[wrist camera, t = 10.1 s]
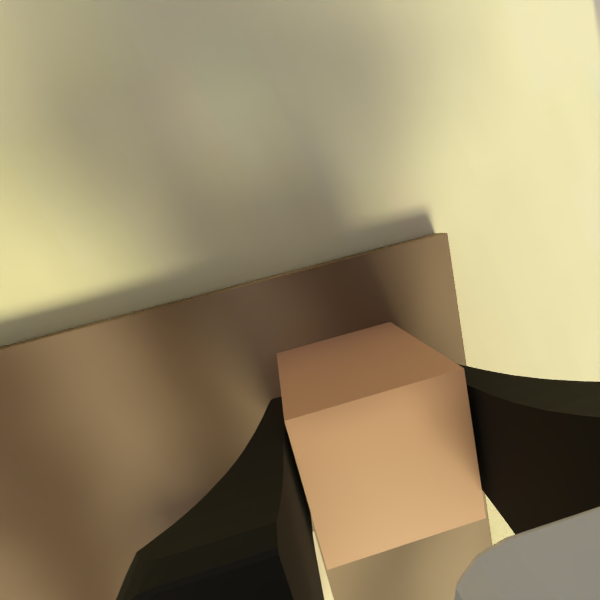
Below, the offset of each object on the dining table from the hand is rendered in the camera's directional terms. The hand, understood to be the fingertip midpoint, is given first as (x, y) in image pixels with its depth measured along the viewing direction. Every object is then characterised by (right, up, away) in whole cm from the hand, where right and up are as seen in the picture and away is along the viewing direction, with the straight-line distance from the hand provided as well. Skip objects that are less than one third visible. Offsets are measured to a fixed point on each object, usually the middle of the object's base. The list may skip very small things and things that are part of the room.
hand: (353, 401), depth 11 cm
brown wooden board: (-5, -6, +2) cm, 8 cm away
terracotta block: (0, 0, +1) cm, 1 cm away
